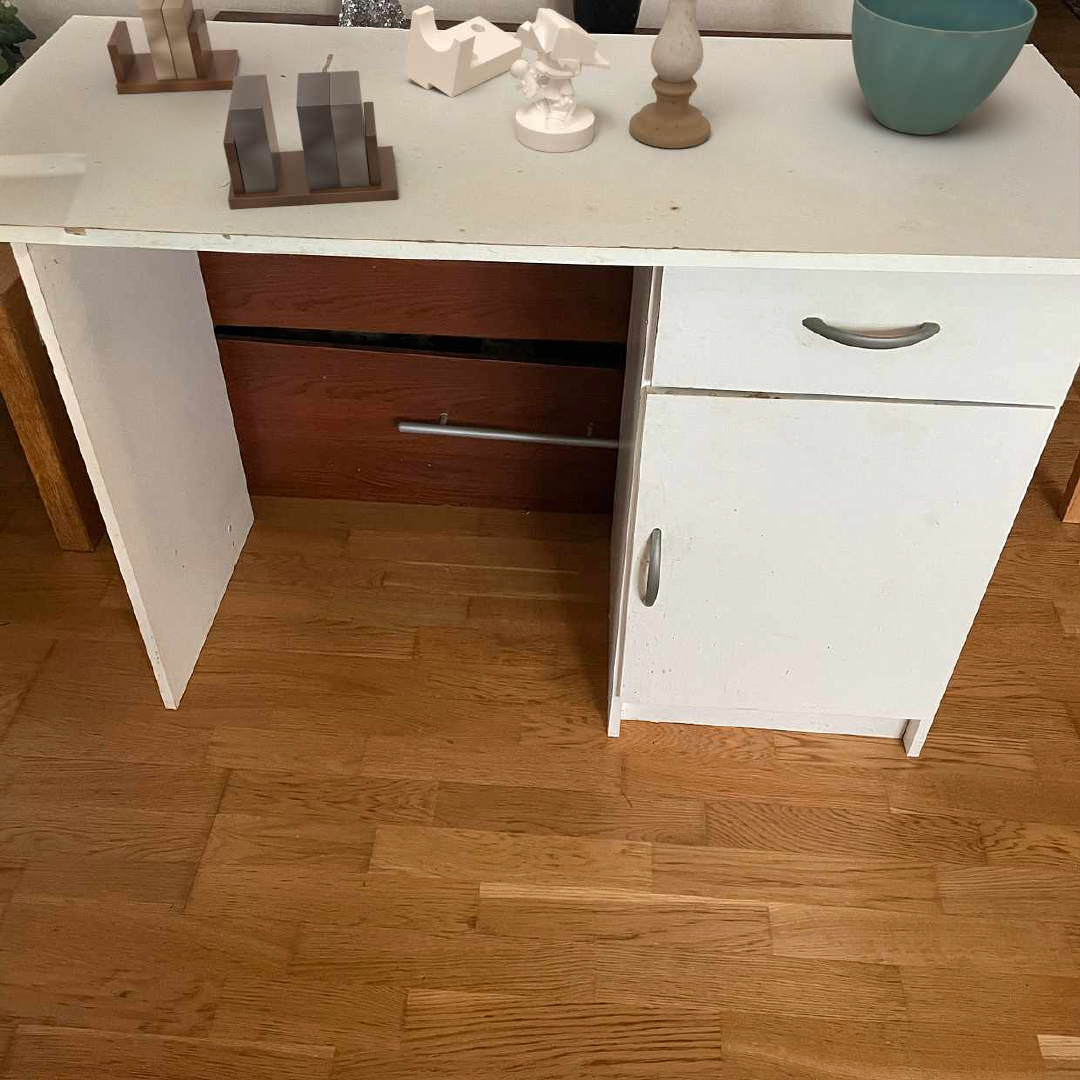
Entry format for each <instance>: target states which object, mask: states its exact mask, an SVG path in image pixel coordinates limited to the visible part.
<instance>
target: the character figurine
mask: <svg viewBox="0 0 1080 1080" xmlns="http://www.w3.org/2000/svg"><path fill="white" fill-rule="evenodd" d="M513 37H514V38H515V39H517V40H519V41H521V46H520V47H523V49H528V50H531V51H535V52H537V57H538V58H537V59H536V60H535V61H534V67H533V68H531V69H530V65H529V62H528V61H527V60H526V59H523V58H521V59H520V60H517V61H515V62H514V63H513V65H512V67H511V69H510V74H511V77H512V78H514V79H516V80H520V81H519V82H517V83H516V84H515V85H514V86H515V88H516V89H517V91H521V92H522V94H523V95H524V97H525V98H526V99H529V98H531V97H533V96H534V95H535V94H537V93H538V92H539V91H540V90H541V89H542V90H541V92H540V94H541V96H542V98H541V99H537V100H536V101H533V102H531V103H528V104H525V105H524V106H522V107H520V108H519V109H518V110H517V111H516V113H515V117H514V118H515V120H514V121H515V125H514V126H515V132H514V133H515V138H516V140H517V141H518V142H519V143H520V144H521V145H523V146H525V147H527V148H529V149H532V150H535V151H539V152H546V153H568V152H569V153H570V152H574V151H579V150H581V149H583V148H585V147H587V146H589V145H590V144H591V143H592V142H593V141H594V138H595V137H594V136H595V120H596V119H595V114H594V113H593V112H592V111H591V110H590V109H589V108H588V107H586V106H583V105H581V104H578V103H576V100H575V99H574V98H573V97H574V96H575V95H576V94H575V88H574V85H573V81H572V79H573V78H575V77H578V76H580V77H581V72H582V67H583V65H584V66H587V67H592V68H593V67H594V68H599V69H607V70H609V69H610V66H611V64H610V63H609V62H608V60H606V59H605V58H604V57H603V56H602V55H600V54H599V53H598V52H597V46H598V41H597V39H596V38H594V37H593V36H592V35H591V34H590V33H588V32H587V31H586V30H585V29H583V27H581V26H580V25H579V24H578V23H576V22H575V21H572V20H570V19H569V18H567V17H565V16H564V15H562V14H561V13H559V12H558V11H556V10H555V9H551V8H543V7H539V8H538V9H537V13H536V18H535V21H534V22H533V23H531V22H530V21H529V20H526V21H525V22H524V23H522V24H521V25H519V26H518V28H517V30H516V33H515V35H514V36H513ZM540 74H541V75H540ZM542 86H544V87H543V88H542Z"/></svg>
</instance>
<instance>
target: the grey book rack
mask: <svg viewBox="0 0 1080 1080" xmlns="http://www.w3.org/2000/svg"><path fill="white" fill-rule="evenodd" d="M360 79H361V78H360V72H359V70H348V71H347V70H342V71H340V70H339V71H319V72H317V71H315V72H298V73H297V83H296V84H297V85H296V101H295V102H296V103H295V104H296V105H295V107H296V113H297V119H298V126H299V127H298V128H299V132H300V133H299V134H300V139H301V145H302V150H290V151H280V147H279V146H280V145H279V141H278V135H277V129H276V124H275V119H274V112H273V107H272V101H271V96H270V89H269V84H268V83H269V82H268V77H267V74H250V75H249V74H248V75H247V74H246V75H236V76H234V82H233V88H232V89H231V94H230V100H229V106H228V112H227V118H226V123H225V129H224V130H225V131H224V136H223V142H222V144H223V149H224V154H225V158H226V163H227V167H228V172H229V177H230V183H229V189H228V197H227V202H228V206H229V209H230V210H233V209H234V210H235V209H237V210H238V209H253V208H254V209H255V208H269V207H286V206H287V207H289V206H304V205H306V206H307V205H321V204H322V205H323V204H324V205H325V204H338V203H339V204H340V203H341V204H342V203H356V202H357V203H359V202H374V201H390V200H391V201H393V200H399V194H398V182H397V173H396V163H395V156H394V155H395V154H394V146H393V145H385V146H379V143H378V134H377V124H376V114H375V105H374V101H363V96H362V90H361V89H362V88H361V80H360Z"/></svg>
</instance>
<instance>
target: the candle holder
mask: <svg viewBox="0 0 1080 1080" xmlns="http://www.w3.org/2000/svg"><path fill="white" fill-rule="evenodd" d="M697 3H698V0H668V4H667V11H666V15H665V19H664V22H663V24H662V27H661V28H660V30H659V32H658V34H657V36H656V38H655V39H654V42H653V45H652V48H651V52H650V62H651V65H652V68H653V70H654V71H655V73H656V74H657V75H656V76H655V77H653V79H652V81H651V87H652V89H653V91H654V94H655V96H656V100H655V101H653V102H651V103H648V104H645V105H643V106H642V108H641V109H640V111H638V112H636V113H635V114H633V115H632V117H630V119H629V129H628V130H629V132H630V135H631V136H632V137H633V138H634V139H636V140H637V141H639V142H641V143H643V144H644V145H645V144H646V145H649V146H652V147H657V148H664V149H683V148H685V149H686V148H691V147H695V146H698V145H701V144H703V143H705V142H706V141H707V140H708V138H709V137H710V135H711V129H712V125H711V122H710V120H709V119H708V118H707V117H706V116H704V115H703V113H702V111H701V109H700V108H698V107H696V106H695V105H692V104H690V98H691V97H692V95H693V93H694V92H695V91H696V90H697V88H698V84H697V81H696V80H695V78H694V76H695V75H696V74H697V72H699V70H700V69H701V67H702V65H703V62H704V56H705V55H704V54H705V53H704V45H703V42H702V38H701V35H700V32H699V31H700V30H699V29H698V23H697Z"/></svg>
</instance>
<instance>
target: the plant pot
mask: <svg viewBox="0 0 1080 1080" xmlns="http://www.w3.org/2000/svg"><path fill="white" fill-rule="evenodd" d="M1037 15H1038V10H1037V8H1036V6H1035V4H1033V3H1032V2H1031V1H1030V0H853V5H852V14H851V51H852V57H853V65H854V68H855V69H854V70H855V74H856V77H857V81H858V84H859V86H860V89H861V92H862V94H863V96H864V99H865V101H866V103H867V105H868V107H869V109H870V111H871V113H872V115H873V116H874V117H875V119H876V120H877V121H878V122H879V123H880V124H881V125H883V126H884V127H886V128H888V129H890V130H893V131H895V132H900V133H905V134H910V135H920V136H921V135H922V136H923V135H924V136H925V135H937V134H941V133H945V132H947V131H949V130H951V129H952V128H954V127H955V126H957V125H958V124H959V123H960V122H962V121H963V120H964V119H966V118H967V117H968V116H969V115H970V114H972V113H973V112H974V111H975V110H976V109H977V108H978V107H979V106H981V105H982V104H983V103H984V102H985V101H986V100H987V99H988V98H989V96H990V95H991V94H992V93H993V92H995V90H996V88H998V87H999V85H1000V83H1001V82H1002V81H1003V80H1004V78H1005V77H1006V76H1007V74H1008V72H1009V71H1010V70H1011V68H1012V67H1013V65H1014V64H1015V62H1016V60H1017V59H1018V57H1019V56H1020V53H1021V52H1022V49H1023V48H1024V46H1025V44H1026V42H1027V40H1028V38H1029V36H1030V33H1031V31H1032V29H1033V26H1034V24H1035V21H1036V18H1037Z"/></svg>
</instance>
